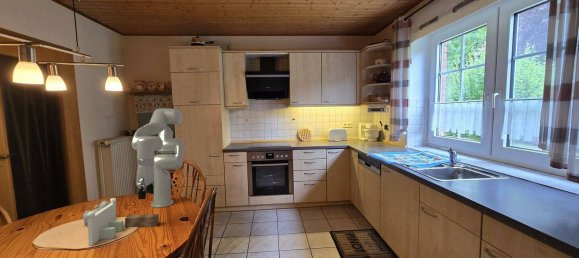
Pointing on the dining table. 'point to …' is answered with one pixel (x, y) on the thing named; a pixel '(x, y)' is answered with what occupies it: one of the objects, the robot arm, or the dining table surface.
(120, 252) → the dining table surface
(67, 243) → the dining table surface
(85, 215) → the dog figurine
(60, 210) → the dining table surface
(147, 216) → the rail
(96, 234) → the pale grey legged piece
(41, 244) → the dining table surface
